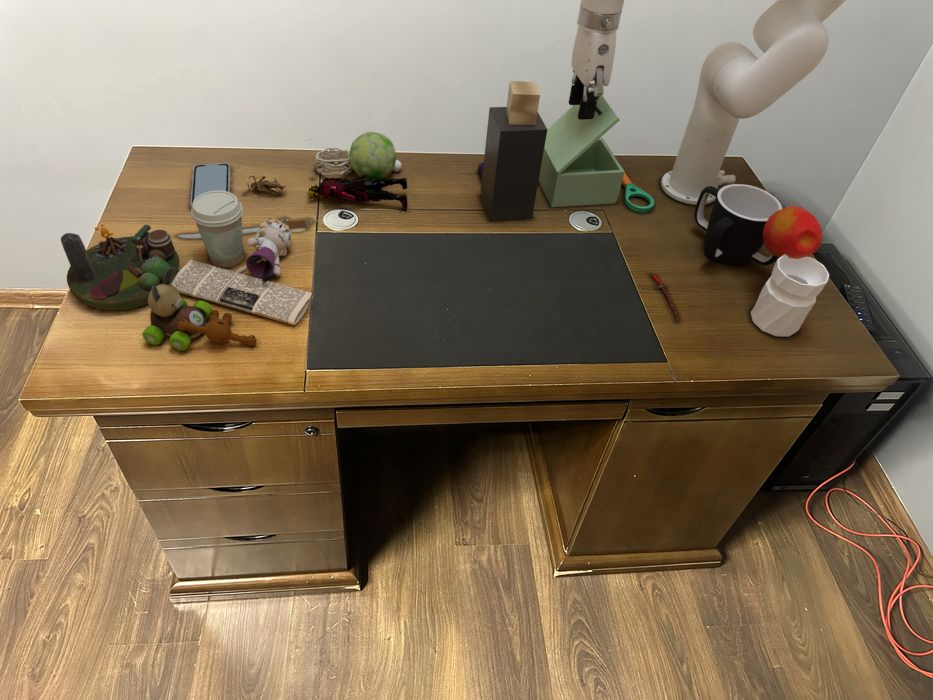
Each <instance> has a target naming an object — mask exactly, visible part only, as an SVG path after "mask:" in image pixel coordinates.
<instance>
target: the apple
mask: <svg viewBox="0 0 933 700" xmlns="http://www.w3.org/2000/svg"><path fill="white" fill-rule="evenodd" d="M823 237H824V235H823V231H822V226H821V223H820V222H819V221H818V219H817V218H816V216H815V215H814V214H813V213H811V212H809V211H808V210H807V209H806V208H804V207H803V206H797V205H796V206H795V205H789V206H785V207H782V209H780V210H778V211H776V212H775V213H774V214H773V215H771V216H770V217H769V219H768V220H767V222H766V224H765V225H764V230H763V239H764V244H763V245H764V247H765V248H766V249H767V251H768V252H769V253H770V254H771V255H772V254H773V255H774V256H776V257H778V258H780V257H781V256H783V255H784V254H786V255H787V256H788V257H789V258H793V259H800V258H803V257H807V256H808V257H811V256H812V255H813V254H815V253H816V252H817V251H818V250H819V248H820V247H821V245H822V243H823Z"/></svg>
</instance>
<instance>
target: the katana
mask: <svg viewBox="0 0 933 700" xmlns="http://www.w3.org/2000/svg"><path fill="white" fill-rule="evenodd" d="M651 275H652V278H653V279H654V280H655V281H656V283H657V284H658V286H657V290H661V292H662V293H663V295H664V297H665V299H666V301H667V302H668V304H669V307H670V309H671V311H672V313H673V315H674V317H675V321H676V322H678V321H679V317H678V314H677V312H676V310H675V307H674V305H673V302H672V300H671V298H670V296H669V294H668V292H667V290H666V288H667V286H666V285H665V284H664V283H663V282H661V280H660V279H659V277H658V275H656V274H651Z"/></svg>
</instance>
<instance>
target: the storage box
mask: <svg viewBox="0 0 933 700" xmlns="http://www.w3.org/2000/svg"><path fill="white" fill-rule="evenodd" d="M624 173H626V172H625V170H624V168H623V167H622V164H621V163H620V162H619V161H618V159H617V157H616V156H615V155H614V153H613V151H612V150H611V147H609V145H608V144H607V142H606V141H605V139H604V138H603V137H600V138H599V139H598V140H597V141H596V142H595V143H594V144H593V145H592V146H590V147H589V148H588V149H587V150H586V151H585V152H584V153H583V154H581V155H580V156H579V157H578V158H577V159H576V160H575V161H574V162H572V163H571V164H570V165H569V166H568V167H567V168H566V169H565V170H564V171H562V172H561V173H560V174H558V173H557V171H556V169H555V167H554V166H553V164H552V162H551V160H550V158H549V156H548V154H547V152H546V150H545V149H544V153H543V158H542V164H541V170H540V176H539V182H538V184H539V185H540V187H541V188H542V191H543V193H544V195H545V197H546V199H547V201H548V203H549V205H550V207H551V208H564V207H566V208H567V207H581V206H582V207H583V206H596V205H598V206H599V205H613V204H614V205H615V204H617V201H618V198H619V194H620V191H621V187H622V185H623V184H622V180H623V177H624Z"/></svg>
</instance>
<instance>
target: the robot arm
mask: <svg viewBox="0 0 933 700" xmlns="http://www.w3.org/2000/svg"><path fill="white" fill-rule="evenodd" d="M845 2H846V0H776V1H775V2H774V3H773V4H771V5H770V7H768V8H766V10H765V11H764V12H763V13H761V15H760V16H758V18H757V19H756V21H755V24H754V25H753V28H752V36H753V40H754V41H755V43H756V45H757V47H758V48H759V49H760V50H761V52H762V55H760V56H759V58H758V57H757V56H756V55H755V54H754V53H753V51H751V49H749V47H747V46H746V45H744V44H742V43H741V42H736V41H727V42H723V43H720V44H718V45H717V46H715V47H714V48H713V49H711V51H710V52H709V53H708V54H707V56H706V57H705V59H704V61H703V63H702V66H701V68H700V74H699V78H698V86H697V90H696V96H695V99H694V103H693V107H692V110H691V113H690V116H689V119H688V122H687V124H686V127H685V131H684V134H683V137H682V140H681V143H680V146H679V149H678V152H677V155H676V158H675V161H674V164H673V168H672V170H670V171H667V172H666V173H665V174H663V175H662V176H661V177H662V178H661V181H660V186H661V189H662V190H663V192H664V193H665V194H666V195H667V196H669V197H670V198H672V199H673V200H675V201H678V202H680V203H684V204H688V205H694V206H696V204H697V201H698V198H699V196H700V193H701V191H702V190H703V189H704V188H705V187H708V186H712V187H715V188H717V189H719V187H720V186H722V185H732V184H736V175H735V174H726V171H725V170H723V169H721V168H722V166H723V162H724V160H725V158H726V156H727V152H728V150H729V148H730V144H731V142H732V140H733V137H734V135H735V132H736V130H737V127H738V125H739V121H740V120H741V119H742V120H743V119H749V118H752V117H755V116H757V115H759V114H761V113H762V112H763V111H766V110H767V109H768V108H769V107H770V106H772V105H773V104H774V103H775V102H776V101H778V100H779V99H780V98H782V97H783V96H784V95H785V94H787V93H788V92H789V91H790V90H791V89H793V88H794V87H795V86H796V85H797V84H799V83H800V82H802V80H804V79H805V78H806V77H808V75H810V74H811V73H812V72H813V71H814V70H815V69H816V68H817V67H818V65H820V63H821V61H822V60H823V59H824V58H825V57H824V56H825V55H826V53H827V50H828V47H829V42H830V41H829V40H830V38H829V37H830V36H829V32H828V30H827V28H826V26H825V25H824V24H823V23H824V22H825V21H826V20H827V19H828V18H829V17H830V16H831V15H832V14H833V13H834V12H836V11H837V9H839V8H840V7H841V6H842V5H843V4H844V3H845ZM624 3H625V0H580V5H579V9H578V15H577V20H576V24H577V31H576V35H575V37H574V38H575V39H574V44H573V48H572V54H571V61H570V62H571V68H572V72H573V75H572V77H571V78H572V79H571V87H570V93H569V98H568V104H569V106H573V105H580V107H579V112H578V119H579V120H585V119H593V118H594V114H595V109H596V104H597V101H598V100H599V97H600V96H602V95H603V96H604V87H608V86H609V85H610V82H611V77H612V71H613V67H614V59H615V53H616V44H617V31H618V30H619V26H620V23H621V16H622V13H623V7H624ZM593 81H594V82H593ZM591 82H592V83H591ZM583 87H584V94H583V99H581V97H580V96H579V90H580V89H581V88H583ZM591 88H595V89H594V90H593V91H591V92H590V93H588V92H589V90H590V89H591ZM715 198H716V197H715V196H713V195H711V194H709V196H708V199H707V201H706V204H705V205H708V204H711V203H714V201H715Z"/></svg>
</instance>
